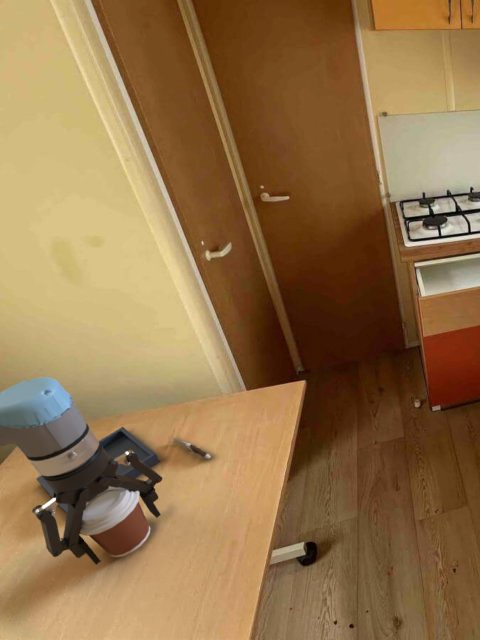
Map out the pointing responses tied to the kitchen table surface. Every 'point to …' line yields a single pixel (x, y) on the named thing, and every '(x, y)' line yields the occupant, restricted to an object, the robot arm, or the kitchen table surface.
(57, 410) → the robot arm
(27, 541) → the kitchen table surface
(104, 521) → the coffee cup
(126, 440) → the tray
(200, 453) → the pocket knife
